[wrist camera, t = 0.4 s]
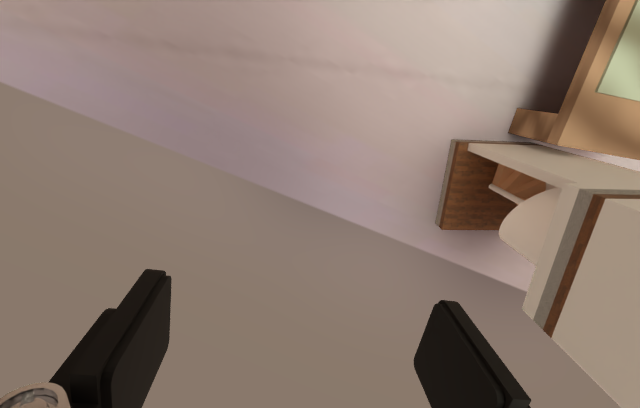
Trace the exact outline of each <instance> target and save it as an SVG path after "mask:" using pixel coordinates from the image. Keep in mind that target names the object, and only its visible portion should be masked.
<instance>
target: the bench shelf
mask: <svg viewBox="0 0 640 408" xmlns="http://www.w3.org/2000/svg"><path fill="white" fill-rule="evenodd" d="M508 133H511V134H515V135H519V136H523V137H527V138H531V139H535V140H539V141H543V142H547V143H551V144H554V145H559V146H565V147H570V148H576V149H581V150H587V151H592V152H598V153H603V154H609V155H614V156H620V157H625V158H631V159H636V160H640V0H606V1H605V3H604V6H603V8H602V11H601V13H600V15H599V18H598V20H597V23H596V25H595V27H594V30H593V32H592V35H591V37H590V39H589V42H588V44H587V46H586V49H585V51H584V54H583V56H582V58H581V61H580V63H579V66H578V68H577V70H576V73H575V75H574V77H573V80H572V82H571V85H570V87H569V89H568V92H567V94H566V97H565V99H564V101H563V104H562V106H561V109H560V111H559V113H558V114H556V113H549V112H541V111H534V110H527V109H519V108H517V110H516V113H515V116H514V118H513V121H512V124H511V126H510V129H509V132H508Z"/></svg>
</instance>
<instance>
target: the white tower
mask: <svg viewBox="0 0 640 408" xmlns="http://www.w3.org/2000/svg"><path fill="white" fill-rule="evenodd" d="M435 223H436V224H437V225H438V226H439V227H440V228H441V229H442V230H499V237H500V239H501V240H503V241H504V242H505V243H506V244H508V245H509V246H510V247H512V248H513V249H514V250H516V251H517V252H518V253H520V254H521V255H522V256H524V257H525V258H526V259H527V260H529V261H530V262H531V263H533V264H534V265H535V266H536V268H535V271H534V274H533V277H532V280H531V283H530V286H529V289H528V292H527V295H526V298H525V301H524V304H523V307H522V310H524V312H525V313H527V315H528V316H529V317H530V318H532V320H533V321H535V323H536V324H537V325H538V326H539V327H541V328H542V329H543V330H544V331H545V332H546V333H547V334H548V335H549V336H550V337H551V338H552V339H553V340H554V341H555V342H556V343H557V344H558V345H559V346H560V347H561V348H562V349H563V350H564V351H565V352H566V353H567V354H568V355H569V356H570V357H571V358H572V359H573V360H574V361H575V362H576V363H577V364H578V365H579V366H580V367H581V368H582V369H583V370H584V371H585V372H586V373H587V374H588V375H589V376H590V377H591V378H592V379H593V380H594V381H595V382H596V383H597V384H598V385H599V386H600V387H601V388H602V389H603V390H604V391H605V392H606V393H607V394H608V395H609V396H610V397H611V398H612V399H613V400H614V401H615V402H616V403H617V404H618V405H619V406H620V407H621V408H640V172H638V171H635V170H631V169H627V168H624V167H620V166H616V165H613V164H609V163H605V162H601V161H598V160H594V159H590V158H587V157H583V156H579V155H575V154H572V153H568V152H564V151H561V150H557V149H553V148H550V147H546V146H542V145H538V144H535V143H531V142H504V141H476V140H451V145H450V151H449V156H448V161H447V166H446V171H445V176H444V181H443V186H442V192H441V197H440V202H439V207H438V212H437V217H436V222H435Z"/></svg>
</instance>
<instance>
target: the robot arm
mask: <svg viewBox="0 0 640 408" xmlns="http://www.w3.org/2000/svg"><path fill="white" fill-rule="evenodd" d="M170 302H171V276H166V272H165V271H161V270H152V269H146V270H145V271H144V272H143V273H142V275H141V276H140V277H139V279H138V280H137V282H136V283H135V284H134V286H133V287H132V288H131V290H130V291H129V293H128V294H127V295H126V297H125V298H124V299H123V301H122V302H121V304H120V305H119V306H118V307H117V309H111V308H108V309H106V310H105V311H104V312H103V313H102V314H101V316H100V317H99V318H98V319H97V321H96V322H95V323H94V324H93V326H92V327H91V328H90V330H89V331H88V332H87V333H86V335H85V336H84V337H83V339H82V340H81V341H80V343H79V344H78V345H77V346H76V348H75V349H74V350H73V351H72V353H71V354H70V355H69V357H68V358H67V359H66V360H65V362H64V363H63V364H62V366H61V367H60V368H59V369H58V371H57V372H56V373H55V375H54V376H53V377H52V378H51V380H50V381H49V382H41V383H33V384H29V385H26V386H23V387H20V388H18V389H16V390H14V391H11V392H9V393H7V394H6V395H4V396H3V397H2V398H0V408H142V406H143V403H144V401H145V399H146V396H147V394H148V392H149V390H150V387H151V385H152V382H153V380H154V378H155V376H156V374H157V371H158V369H159V367H160V365H161V362H162V360H163V358H164V355H165V353H166V351H167V348H168V344H169V330H170ZM414 367H415V370H416V373H417V375H418V377H419V380H420V382H421V384H422V387H423V389H424V391H425V394H426V396H427V398H428V400H429V403H430V405H431V407H432V408H531V407H530V406H529V404H530V402H531V399H530V398H529V397H528V395H527V394H526V393H525V391H524V390H523V388H522V387H521V386H520V385H519V383H518V382H517V381H516V379H515V378H514V377H513V375H512V374H511V372H510V371H509V370H508V368H507V367H506V366H505V364H504V363H503V362H502V360H501V359H500V358H499V356H498V355H497V354H496V352H495V351H494V350H493V348H492V347H491V346H490V344H489V343H488V342H487V340H486V339H485V338H484V336H483V335H482V334H481V332H480V331H479V330H478V328H477V327H476V326H475V324H474V323H473V322H472V320H471V319H470V318H469V316H468V315H467V314H466V312H465V311H464V310H463V308H462V307H461V306H460V304H459V303H458V302H455V301H445V300H441V301H440V302H439V303H438V304H435V305H434V307H433V310H432V313H431V315H430V318H429V320H428V323H427V326H426V328H425V331H424V333H423V336H422V339H421V341H420V344H419V347H418V349H417V352H416V354H415V357H414Z"/></svg>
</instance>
